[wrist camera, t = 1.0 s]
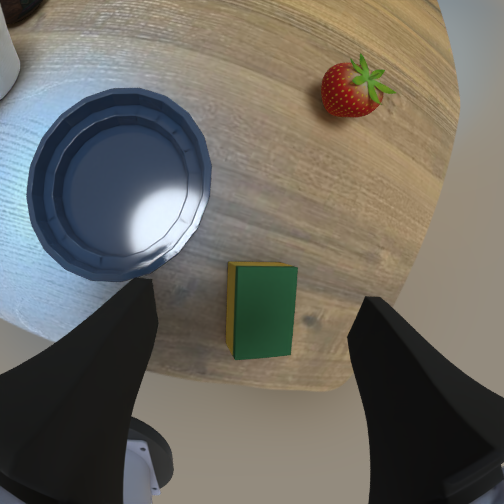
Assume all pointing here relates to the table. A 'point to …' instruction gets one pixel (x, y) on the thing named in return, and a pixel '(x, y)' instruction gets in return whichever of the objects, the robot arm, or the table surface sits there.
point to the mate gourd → (18, 9)
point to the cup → (7, 59)
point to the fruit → (352, 89)
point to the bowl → (119, 184)
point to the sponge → (260, 309)
